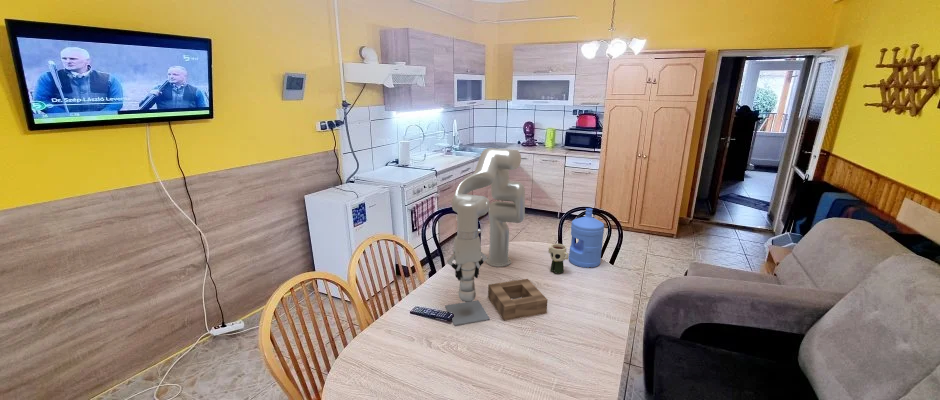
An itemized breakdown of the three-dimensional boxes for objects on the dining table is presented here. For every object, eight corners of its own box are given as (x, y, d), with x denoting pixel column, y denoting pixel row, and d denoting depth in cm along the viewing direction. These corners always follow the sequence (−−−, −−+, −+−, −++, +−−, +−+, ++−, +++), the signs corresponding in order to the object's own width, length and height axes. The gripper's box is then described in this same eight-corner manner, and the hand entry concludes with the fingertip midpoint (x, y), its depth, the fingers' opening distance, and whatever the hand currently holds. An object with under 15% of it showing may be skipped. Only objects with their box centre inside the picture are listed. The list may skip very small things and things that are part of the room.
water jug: (596, 255, 209) (602, 204, 201) (603, 269, 194) (609, 214, 186) (566, 254, 211) (570, 203, 203) (570, 267, 196) (575, 213, 188)
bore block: (487, 297, 168) (488, 284, 166) (526, 291, 173) (527, 278, 172) (504, 320, 152) (504, 306, 150) (546, 313, 157) (547, 299, 155)
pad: (445, 306, 161) (445, 305, 160) (478, 301, 165) (478, 300, 164) (454, 326, 148) (454, 324, 148) (489, 319, 152) (490, 318, 152)
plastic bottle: (474, 305, 151) (475, 256, 145) (456, 303, 152) (456, 254, 147) (477, 296, 157) (478, 249, 151) (460, 294, 158) (460, 248, 153)
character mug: (543, 270, 193) (544, 245, 189) (551, 265, 198) (553, 241, 194) (562, 277, 185) (564, 252, 182) (570, 273, 190) (573, 247, 186)
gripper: (486, 227, 153) (485, 270, 158) (442, 232, 148) (442, 276, 153) (493, 234, 146) (491, 279, 151) (447, 239, 141) (447, 285, 146)
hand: (467, 277), depth 152 cm, fingers closed on plastic bottle, 6 cm apart
